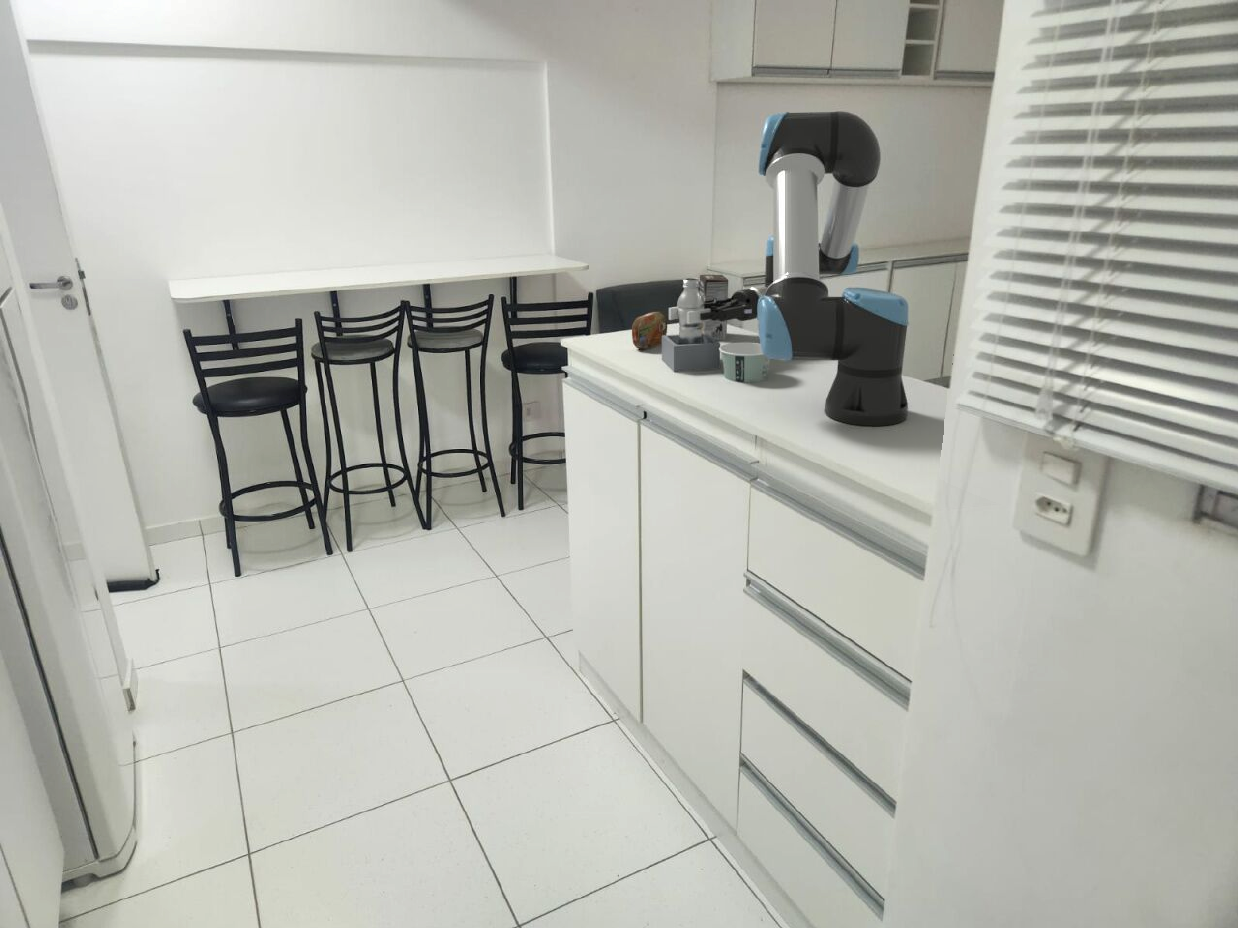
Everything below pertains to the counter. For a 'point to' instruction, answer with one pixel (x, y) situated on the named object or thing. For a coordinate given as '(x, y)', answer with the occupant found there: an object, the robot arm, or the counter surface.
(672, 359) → the bottle holder
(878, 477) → the counter surface
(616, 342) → the counter surface
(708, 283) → the coffee box
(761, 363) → the food container
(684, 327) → the plastic bottle
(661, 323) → the tin
